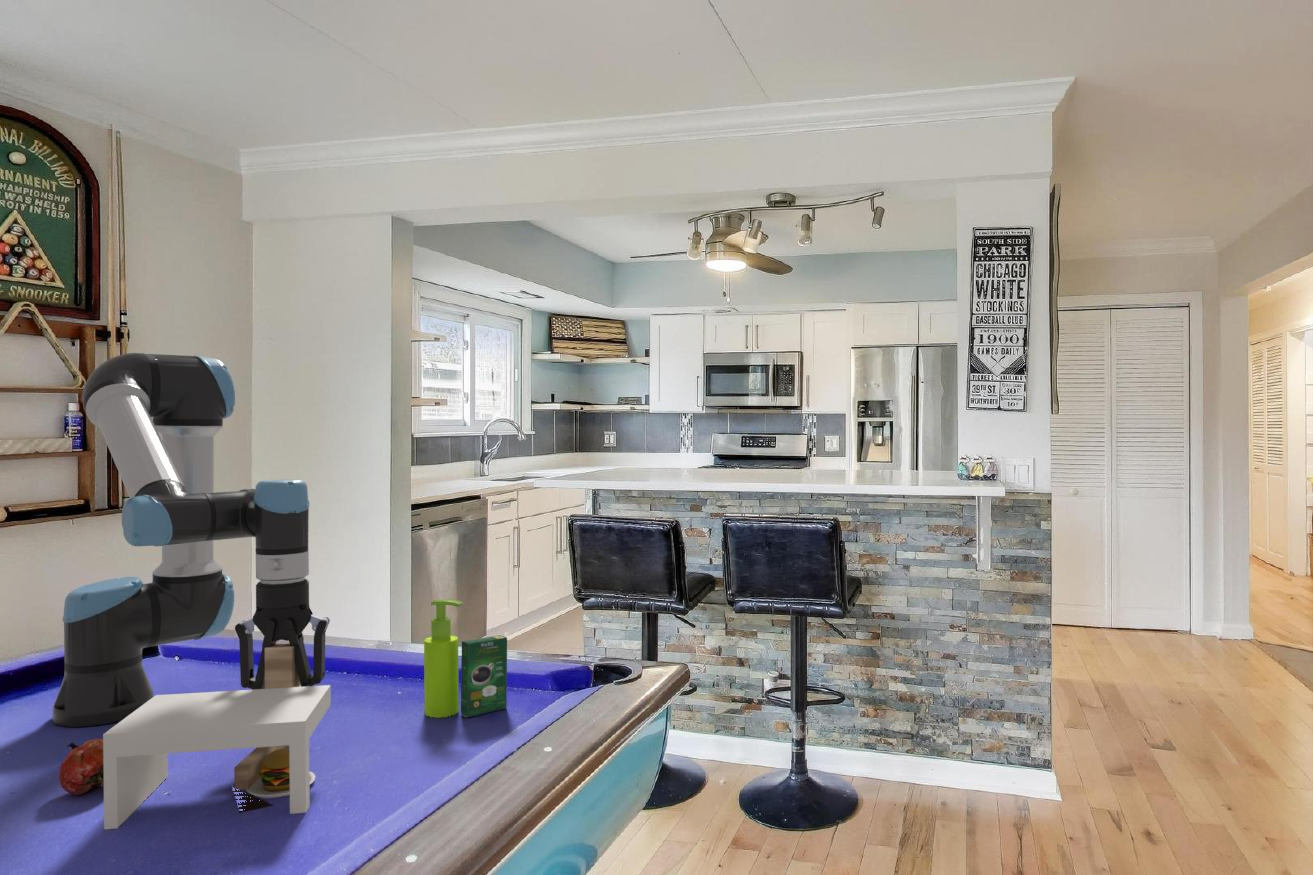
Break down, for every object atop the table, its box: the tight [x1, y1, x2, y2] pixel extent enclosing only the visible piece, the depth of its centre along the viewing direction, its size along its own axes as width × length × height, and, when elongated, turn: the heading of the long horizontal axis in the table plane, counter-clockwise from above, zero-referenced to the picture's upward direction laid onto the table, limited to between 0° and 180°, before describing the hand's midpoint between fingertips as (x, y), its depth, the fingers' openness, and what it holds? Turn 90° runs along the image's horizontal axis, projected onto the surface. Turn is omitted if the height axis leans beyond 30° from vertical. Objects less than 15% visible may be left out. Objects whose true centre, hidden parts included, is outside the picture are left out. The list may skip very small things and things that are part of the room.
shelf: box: [102, 684, 332, 830], centre depth 115 cm, size 16×24×12 cm, turn 100°
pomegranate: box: [58, 738, 104, 796], centre depth 116 cm, size 7×7×10 cm
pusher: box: [233, 640, 301, 790], centre depth 122 cm, size 18×4×16 cm, turn 4°
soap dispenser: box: [423, 598, 465, 719], centre depth 148 cm, size 6×7×20 cm
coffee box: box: [460, 635, 508, 718], centre depth 148 cm, size 8×3×13 cm, turn 129°
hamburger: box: [231, 748, 316, 814], centre depth 117 cm, size 12×12×6 cm
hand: (283, 729), depth 129 cm, fingers closed on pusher, 4 cm apart
